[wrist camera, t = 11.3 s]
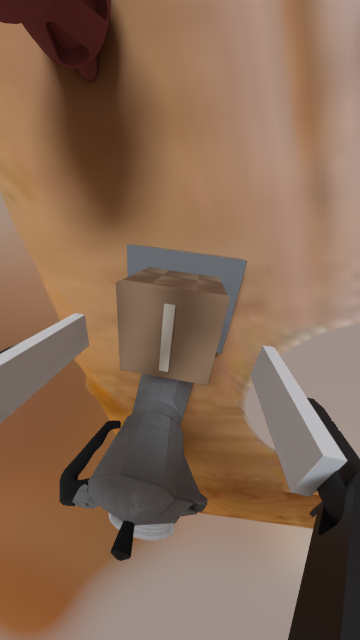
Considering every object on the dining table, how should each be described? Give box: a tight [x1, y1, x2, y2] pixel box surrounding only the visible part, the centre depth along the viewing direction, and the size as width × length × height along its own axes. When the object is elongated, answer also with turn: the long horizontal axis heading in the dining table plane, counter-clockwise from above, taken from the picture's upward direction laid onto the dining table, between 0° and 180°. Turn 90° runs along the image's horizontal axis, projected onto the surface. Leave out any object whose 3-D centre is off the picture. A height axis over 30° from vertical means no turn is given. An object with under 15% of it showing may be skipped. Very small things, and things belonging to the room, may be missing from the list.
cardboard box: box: [116, 267, 230, 385], centre depth 17 cm, size 8×8×8 cm
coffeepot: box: [60, 374, 207, 561], centre depth 21 cm, size 15×9×18 cm, turn 99°
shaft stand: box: [127, 245, 247, 354], centre depth 18 cm, size 13×12×8 cm
